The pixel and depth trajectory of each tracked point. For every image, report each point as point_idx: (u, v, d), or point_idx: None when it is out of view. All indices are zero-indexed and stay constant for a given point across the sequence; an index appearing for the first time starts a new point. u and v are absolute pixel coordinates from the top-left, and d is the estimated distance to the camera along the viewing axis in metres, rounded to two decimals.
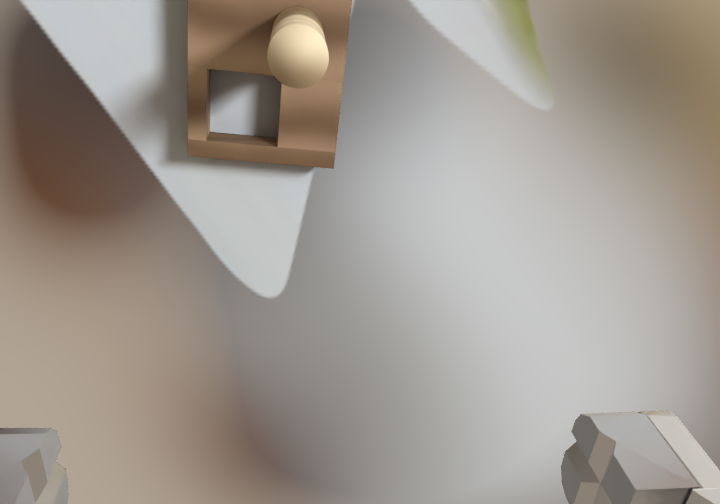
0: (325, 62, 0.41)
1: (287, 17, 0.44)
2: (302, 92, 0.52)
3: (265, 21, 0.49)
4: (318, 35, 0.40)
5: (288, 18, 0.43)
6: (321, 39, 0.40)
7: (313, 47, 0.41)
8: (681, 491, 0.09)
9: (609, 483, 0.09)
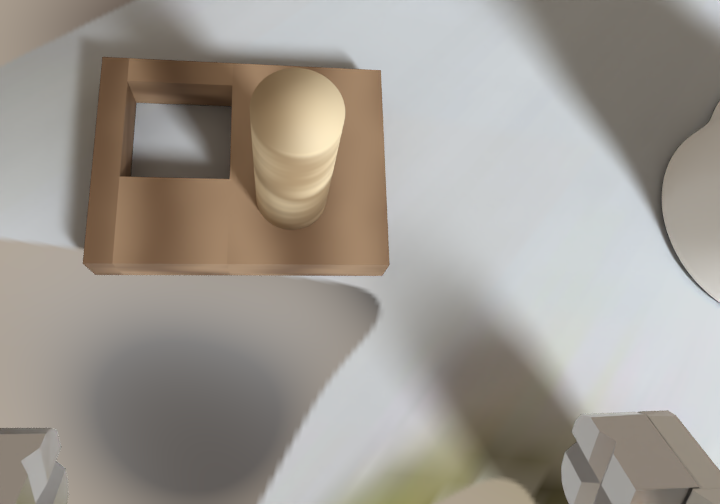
0: (295, 148, 0.26)
1: None
2: (207, 207, 0.35)
3: None
4: (334, 136, 0.26)
5: None
6: (329, 140, 0.26)
7: (315, 129, 0.26)
8: (681, 491, 0.09)
9: (609, 483, 0.09)
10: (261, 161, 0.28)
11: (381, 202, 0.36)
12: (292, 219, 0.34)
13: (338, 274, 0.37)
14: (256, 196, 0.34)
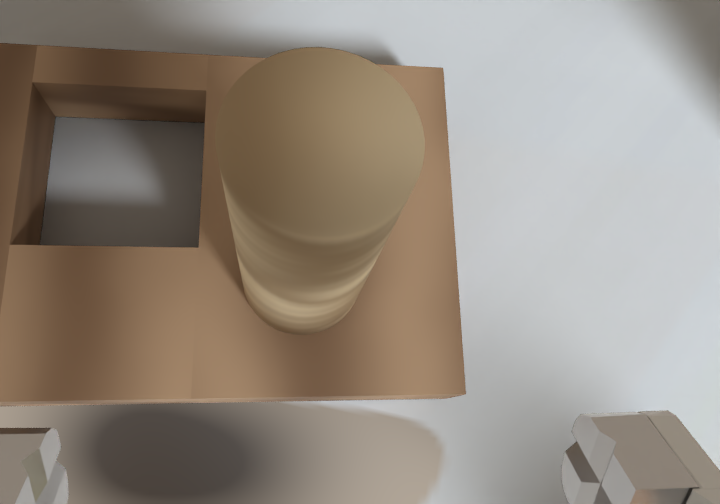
0: (318, 225, 0.11)
1: None
2: (159, 298, 0.21)
3: None
4: (404, 195, 0.12)
5: None
6: (393, 205, 0.12)
7: (362, 180, 0.12)
8: (681, 491, 0.09)
9: (609, 483, 0.09)
10: (245, 241, 0.14)
11: (449, 285, 0.22)
12: (305, 324, 0.19)
13: (377, 399, 0.23)
14: None
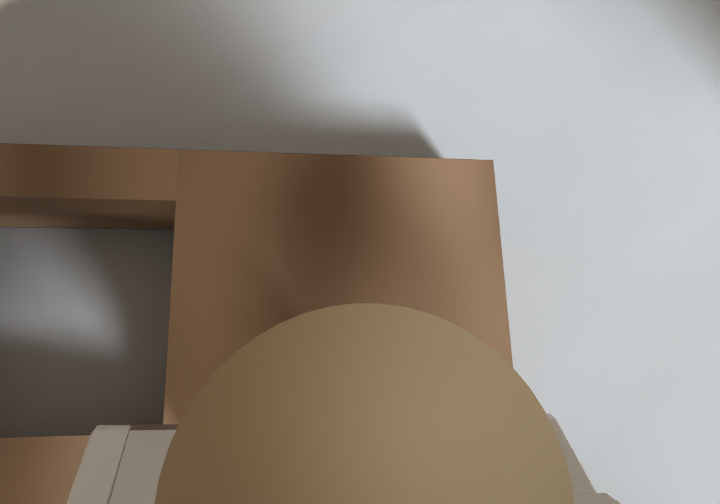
0: None
1: None
2: None
3: None
4: None
5: None
6: None
7: None
8: None
9: None
10: None
11: None
12: None
13: None
14: None
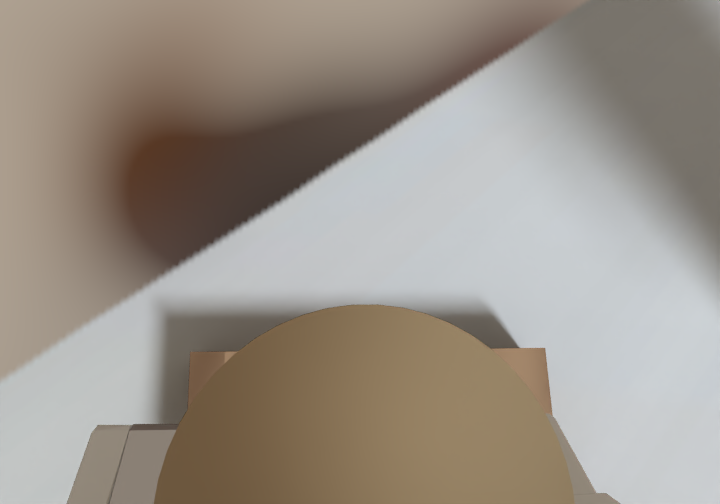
0: None
1: None
2: None
3: None
4: None
5: None
6: None
7: None
8: None
9: None
10: None
11: None
12: None
13: None
14: None
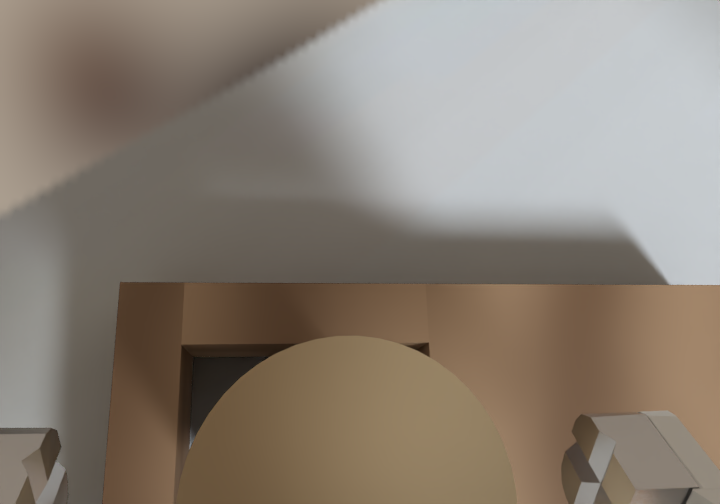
0: None
1: None
2: None
3: None
4: None
5: None
6: None
7: None
8: (681, 491, 0.09)
9: (609, 483, 0.09)
10: None
11: None
12: None
13: None
14: None
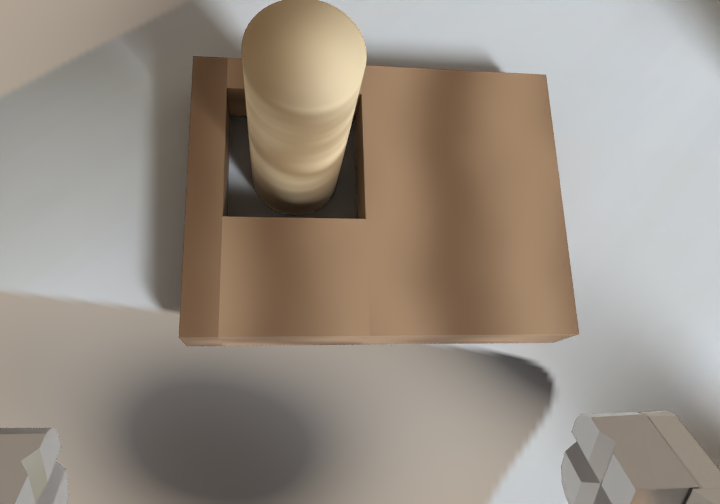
0: (305, 101, 0.20)
1: None
2: (339, 258, 0.26)
3: (457, 187, 0.28)
4: (355, 83, 0.20)
5: None
6: (349, 88, 0.20)
7: (330, 75, 0.20)
8: (681, 491, 0.09)
9: (609, 483, 0.09)
10: (260, 125, 0.22)
11: (561, 249, 0.28)
12: (299, 201, 0.27)
13: (500, 341, 0.28)
14: (253, 176, 0.28)
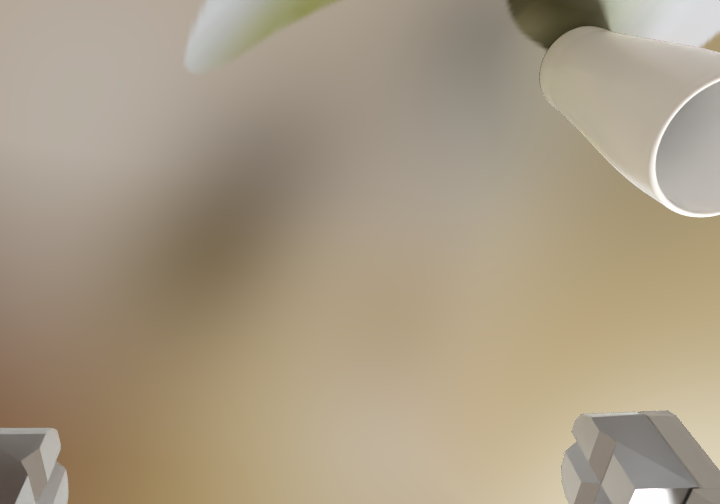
0: None
1: None
2: None
3: None
4: None
5: None
6: None
7: None
8: (681, 491, 0.09)
9: (609, 483, 0.09)
10: None
11: None
12: None
13: None
14: None
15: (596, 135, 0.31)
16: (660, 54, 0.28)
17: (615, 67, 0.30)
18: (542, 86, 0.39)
